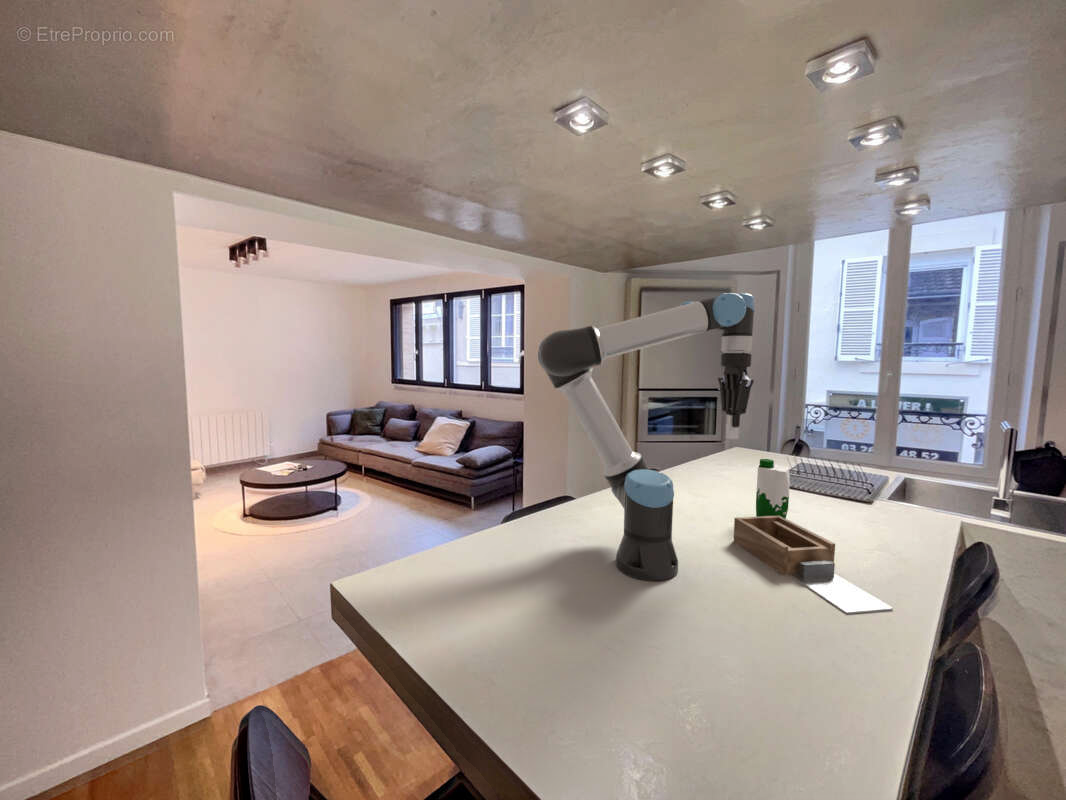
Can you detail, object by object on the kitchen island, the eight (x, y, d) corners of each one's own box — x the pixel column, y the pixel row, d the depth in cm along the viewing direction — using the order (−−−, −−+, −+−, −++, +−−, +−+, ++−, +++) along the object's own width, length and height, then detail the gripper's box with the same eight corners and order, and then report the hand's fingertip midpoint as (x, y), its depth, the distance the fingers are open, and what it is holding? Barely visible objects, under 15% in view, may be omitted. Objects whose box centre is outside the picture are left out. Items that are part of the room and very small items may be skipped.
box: (781, 574, 108) (783, 547, 107) (733, 541, 128) (734, 517, 127) (833, 571, 110) (835, 543, 109) (777, 538, 130) (779, 515, 129)
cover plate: (846, 616, 91) (847, 596, 91) (788, 576, 108) (789, 559, 108) (892, 612, 93) (894, 592, 92) (827, 573, 110) (829, 556, 109)
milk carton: (758, 515, 149) (761, 456, 147) (789, 521, 144) (792, 460, 142) (752, 523, 142) (755, 461, 140) (784, 529, 137) (788, 465, 135)
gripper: (764, 352, 115) (759, 442, 117) (735, 352, 128) (731, 434, 130) (737, 352, 114) (733, 443, 116) (710, 352, 126) (707, 434, 129)
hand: (732, 438), depth 123 cm, fingers closed
